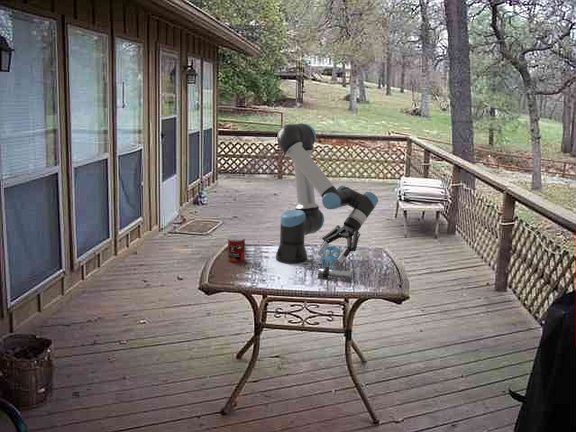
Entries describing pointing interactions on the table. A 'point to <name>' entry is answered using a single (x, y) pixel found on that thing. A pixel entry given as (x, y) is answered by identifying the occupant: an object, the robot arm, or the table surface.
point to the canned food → (236, 249)
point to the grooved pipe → (334, 274)
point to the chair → (330, 256)
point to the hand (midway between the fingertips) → (328, 257)
